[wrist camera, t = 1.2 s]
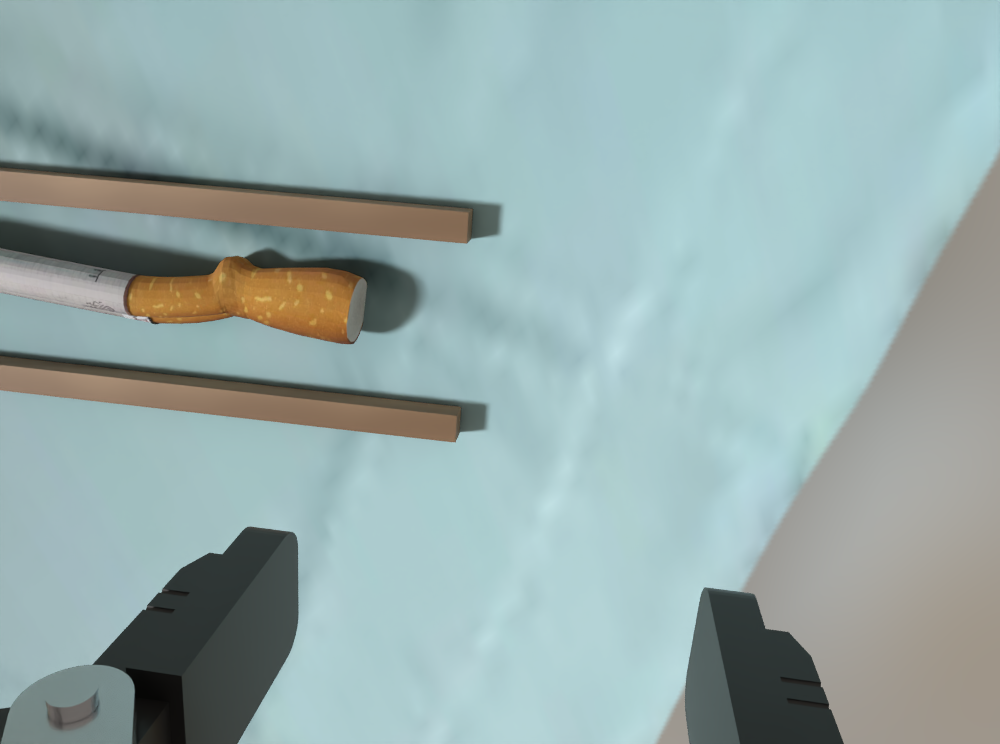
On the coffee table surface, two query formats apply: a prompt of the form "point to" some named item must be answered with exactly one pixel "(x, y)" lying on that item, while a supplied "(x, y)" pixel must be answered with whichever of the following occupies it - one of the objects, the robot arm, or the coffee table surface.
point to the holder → (219, 393)
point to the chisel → (199, 294)
